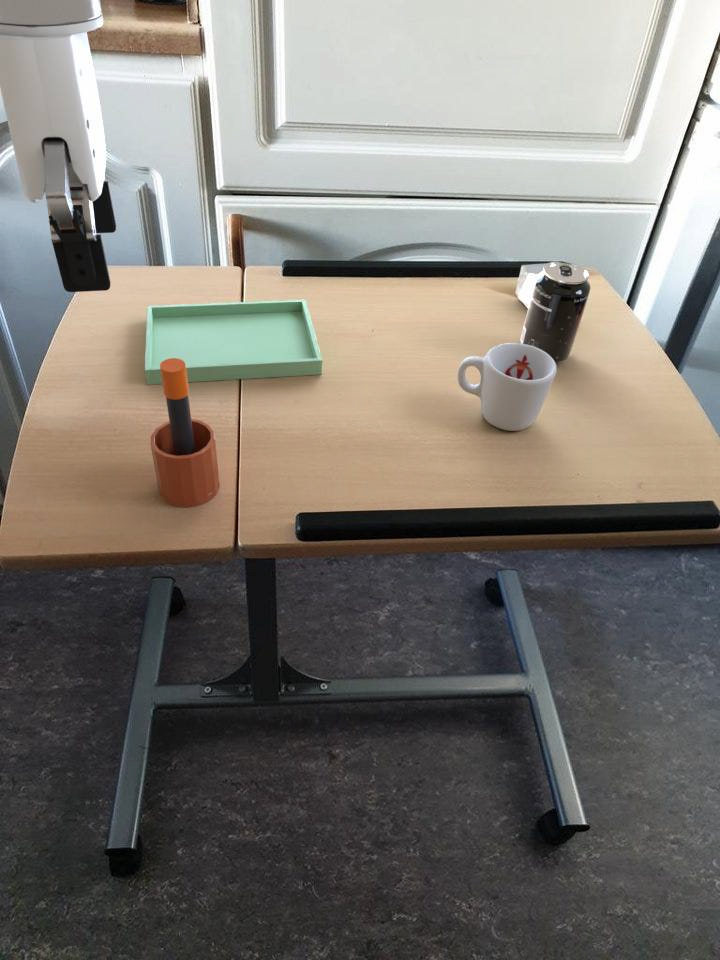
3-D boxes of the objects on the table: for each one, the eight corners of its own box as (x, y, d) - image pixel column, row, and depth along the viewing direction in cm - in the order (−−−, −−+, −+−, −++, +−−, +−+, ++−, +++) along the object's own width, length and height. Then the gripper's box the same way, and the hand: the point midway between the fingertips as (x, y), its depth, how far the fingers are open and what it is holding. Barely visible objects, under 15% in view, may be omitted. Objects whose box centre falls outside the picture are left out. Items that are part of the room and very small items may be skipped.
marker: (177, 489, 70) (159, 372, 61) (177, 474, 72) (159, 358, 62) (200, 487, 71) (185, 371, 61) (199, 472, 72) (185, 357, 63)
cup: (442, 420, 83) (453, 363, 77) (461, 385, 88) (472, 329, 83) (532, 446, 80) (550, 389, 75) (546, 408, 86) (563, 352, 80)
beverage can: (566, 344, 97) (591, 263, 89) (570, 372, 92) (596, 288, 84) (517, 338, 98) (537, 256, 89) (517, 365, 93) (539, 280, 84)
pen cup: (159, 510, 69) (150, 460, 65) (159, 469, 74) (151, 420, 69) (220, 504, 70) (216, 455, 66) (217, 464, 75) (213, 416, 70)
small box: (547, 291, 108) (555, 261, 105) (564, 309, 104) (573, 279, 101) (513, 293, 107) (520, 263, 104) (529, 312, 103) (537, 281, 100)
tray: (146, 384, 84) (144, 370, 83) (149, 319, 95) (147, 305, 94) (322, 374, 88) (322, 360, 87) (305, 313, 99) (305, 299, 97)
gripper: (-8, -30, 48) (53, 214, 60) (-63, 26, 36) (26, 319, 48) (106, -27, 50) (144, 212, 62) (89, 28, 38) (140, 313, 49)
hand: (92, 258), depth 55 cm, fingers open, 9 cm apart
